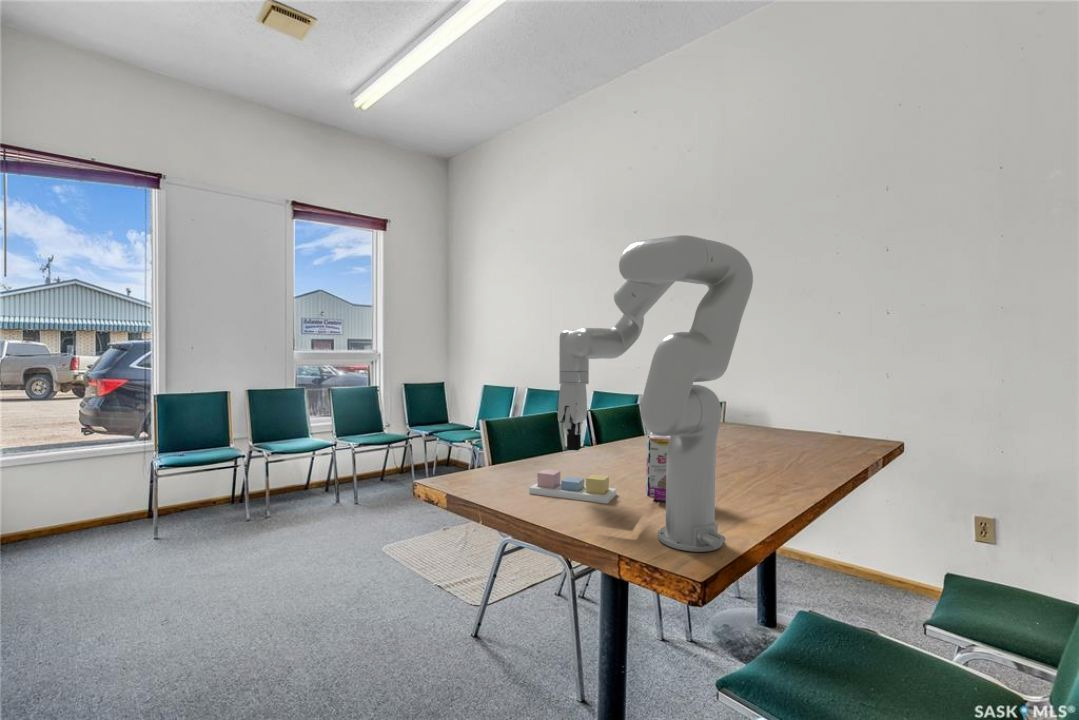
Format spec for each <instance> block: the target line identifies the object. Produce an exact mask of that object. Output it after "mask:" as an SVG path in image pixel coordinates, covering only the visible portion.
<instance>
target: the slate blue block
mask: <svg viewBox="0 0 1079 720" xmlns="http://www.w3.org/2000/svg"><path fill="white" fill-rule="evenodd" d="M560 482H561V490H568V491H576V492H580V491H581V490H582V489H583V488H584V485H585V478H581V477H580V478H579V477H572V476H571V477H570V476H567V477H565V478H563V479H561V480H560Z"/></svg>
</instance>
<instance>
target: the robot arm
mask: <svg viewBox="0 0 1079 720" xmlns="http://www.w3.org/2000/svg"><path fill="white" fill-rule="evenodd" d="M618 270H619V273H620V275H621V276H622V278H623V279H624V280H623V282H622V283H621V284H620V285H619V287H617V289H616V290H615V292H614V293H613V301H614V303H615V305H616V307H617V309H618V310H619V311H620V312H621V313H623V315H622V317H621V318H620V319H619V320H618V322H616V323H615V325H614V326H613V327H612V328H603V327H596V328H595V327H583V328H579V329H566V330H563V331H560V333H559V348H558V349H559V351H558V352H559V353H558V355H559V360H558V361H559V365H558V366H559V367H558V368H559V373H558V374H559V377H558V378H559V379H558V381H559V385H560V386H559V393H558V405H557V406H558V407H557V409H558V410H557V421H558V423H560V424H563V423H564V429H565V430H566V449H567V450H569V451H580V450H581V449H582V448H581V447H582V446H581V445H582V444H581V443H582V442H581V441H582V440H581V439H582V426H583V423H584V421H586V419H587V418H588V417H587V416H588V398H587V396H588V395H587V385H589V383H590V382H589V381H590V379H589V376H590V375H589V374H590V373H589V372H590V371H589V370H590V369H589V368H590V367H589V366H590V365H589V363H590V360H598V359H599V360H600V359H604V360H605V359H607V360H610V359H616V358H618V357H621V356H622V355H624V354H625V353H626V352H627V351H628V350H630V348H631V347H632V346H633V345H634V344H635V343H636V341H637V340H638V339H639V338H640V336H641V333H642V331H643V327H644V324H645V322H644V321H645V315H646V314H647V313H648V312H649V310H650V309H651V308H653V306H654V305H655V304H656V303H657V302H658V301H659V299H660V298H662V297H663V295H664V294H665V293H666V292H667V291H668V290H669V289H670V288H671V287H672V286H673V285H674V283H676V282H680V283H681V282H682V283H689V284H696V285H704V286H706V287H708V289H707V291H706V293H705V294H704V295H703V297H702V298H701V300H700V302H699V303H698V305H697V307H696V310H695V313H694V318H693V322H692V324H691V327H690V329H689V331H680V332H674V333H671V334H669V335H667V336H665V337H664V338H663V339H662V340H661V342H660V343H658V345H657V347H656V348H655V351H654V353H653V357H652V360H651V363H650V367H649V370H648V375H647V379H646V383H645V387H644V390H643V395H642V398H641V404H640V414H641V420H642V422H643V425H644V426H645V428H646V429H647V430H648V431H649V432H650V433H652V434H653V435H656V436H670V440H669V443H668V448H667V462H666V502H665V526H663V527H660V529H658V531H657V538H658V540H659V542H660V543H662V544H664V545H665V546H668V547H671V548H672V549H673V548H674V549H676V550H680V551H687V552H693V553H694V552H695V553H704V552H706V553H707V552H712V551H716V550H719V549H720V548H721V547H722V546H723V544H724V543H725V542H726V537H725V535H723V534H720V533H718V531H719V530H718V529H719V528H718V527H719V526H718V525H719V524H718V523H716V520H715V518H716V515H715V514H716V512H715V511H716V508H715V507H716V466H717V465H716V464H717V463H716V462H717V440H718V435H719V428H720V424H721V418H722V406H721V402H720V399H719V397H718V396H717V394H716V393H715V392H714V391H713V390H712V389H710V388H709V387H708V386H704V385H700V384H694V383H701V382H705V383H706V382H711V381H716V380H718V379H720V378H721V377H723V376H724V374H725V373H726V372H727V369H728V367H729V364H730V361H731V357H732V354H733V350H734V348H735V347H734V346H735V343H736V341H737V336H738V333H739V330H740V326H741V322H742V319H743V315H744V312H745V310H746V307H747V305H748V302H749V299H750V295H751V293H752V289H753V282H754V276H753V275H754V274H753V270H752V266H751V264H750V262H749V260H748V259H747V257H746V256H745V255H744V254H743V253H742V252H741V251H740V250H738V249H736V248H735V247H734V246H731V245H729V244H726V243H723V242H719V241H716V240H711V239H706V238H703V237H697V236H693V235H684V234H683V235H672V236H665V237H658V238H650V239H643V240H638V241H636V242H633V243H631V244H629V246H628V247H626V248H625V249H624V251H623V252H622V254H621V256H620V258H619V261H618Z"/></svg>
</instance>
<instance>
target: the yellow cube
mask: <svg viewBox="0 0 1079 720" xmlns="http://www.w3.org/2000/svg"><path fill="white" fill-rule="evenodd" d="M609 480H610V476H609V475H600V474H590V475H589V476H588V477H586V478H585V485H586V493H593V494H601V495H605V494H606V493H607V492H608V491H609V488H610V481H609Z"/></svg>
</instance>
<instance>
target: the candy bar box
mask: <svg viewBox="0 0 1079 720" xmlns="http://www.w3.org/2000/svg"><path fill="white" fill-rule="evenodd" d="M669 440H670V436H659V435H655V434H653V435H652V434H651V435H650V434H649V435H646V459H645V460H646V463H645V465H646V470H645V493H646V496H647V497H651V498H652V497H654V499H653V500H652V502H653V503H654V502H655V503H656V502H658V503H666V462H667V448H668V443H669Z"/></svg>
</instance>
